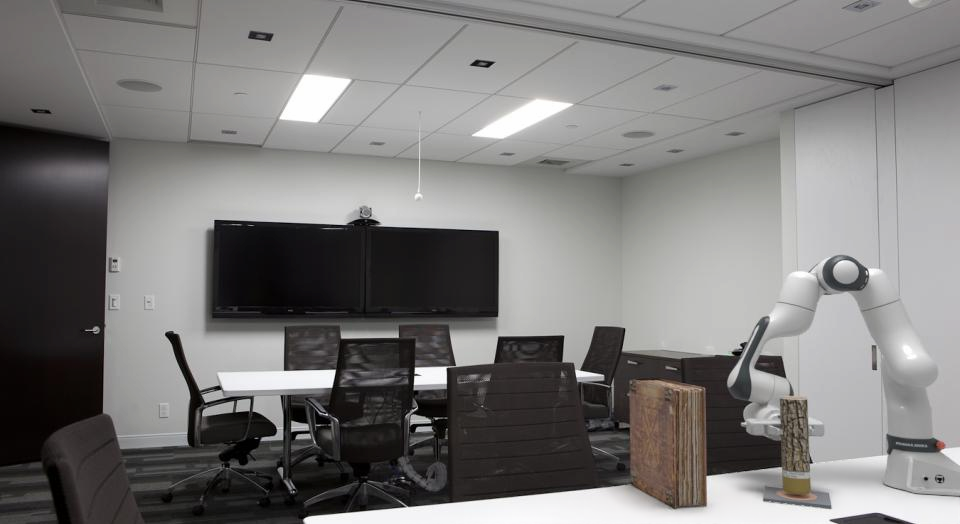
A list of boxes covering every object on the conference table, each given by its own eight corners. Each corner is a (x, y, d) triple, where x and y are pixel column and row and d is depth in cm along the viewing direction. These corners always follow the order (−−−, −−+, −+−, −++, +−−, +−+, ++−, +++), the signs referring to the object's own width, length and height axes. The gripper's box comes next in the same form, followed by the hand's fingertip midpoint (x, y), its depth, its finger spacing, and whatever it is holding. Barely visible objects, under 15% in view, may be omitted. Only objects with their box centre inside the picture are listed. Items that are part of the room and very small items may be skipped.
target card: (829, 495, 189) (829, 492, 189) (831, 508, 176) (831, 505, 177) (765, 488, 196) (765, 485, 196) (763, 501, 183) (763, 497, 183)
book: (707, 507, 177) (705, 387, 179) (674, 509, 175) (673, 388, 177) (659, 483, 202) (658, 378, 204) (629, 484, 200) (629, 378, 202)
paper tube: (813, 496, 182) (810, 398, 184) (785, 494, 183) (782, 397, 186) (807, 490, 188) (804, 396, 191) (780, 489, 190) (777, 395, 192)
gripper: (738, 412, 201) (756, 420, 187) (810, 413, 200) (833, 421, 186) (738, 434, 200) (757, 444, 186) (810, 435, 200) (834, 445, 186)
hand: (796, 432), depth 186 cm, fingers closed on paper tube, 7 cm apart
